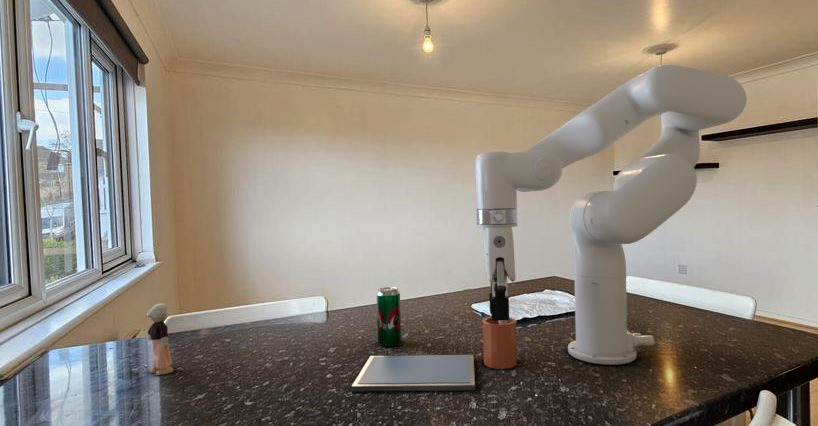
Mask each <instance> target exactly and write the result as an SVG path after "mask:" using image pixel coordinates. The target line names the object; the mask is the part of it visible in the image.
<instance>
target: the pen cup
mask: <svg viewBox="0 0 818 426" xmlns="http://www.w3.org/2000/svg"><path fill="white" fill-rule="evenodd" d="M517 339H518V337H517V319H516V318H514V317H511V316H509V320H507V324H499V321H493V320H492V318H491V316H488V317H485V318H483V319H482V350H483V353H482V355H483V364H484V366H486V367H488V368H490V369H496V370H507V369H511V368H515V367H516V366H517V365H518V340H517Z"/></svg>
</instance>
